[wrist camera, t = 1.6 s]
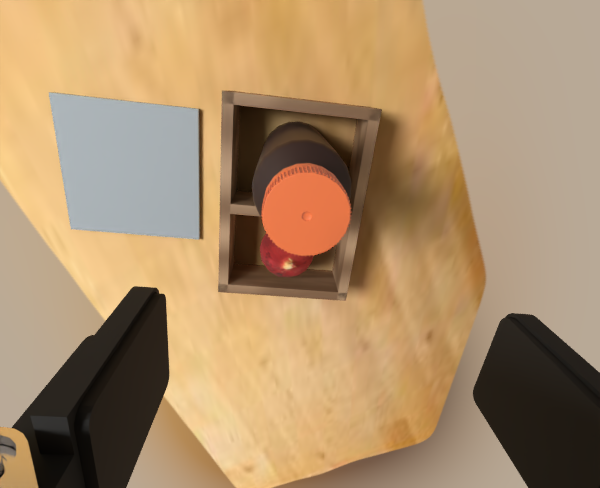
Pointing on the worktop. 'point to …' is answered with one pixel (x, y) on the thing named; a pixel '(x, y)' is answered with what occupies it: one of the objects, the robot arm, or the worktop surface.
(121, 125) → the mat
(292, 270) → the onion
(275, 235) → the vinegar
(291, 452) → the worktop surface
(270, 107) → the rack
